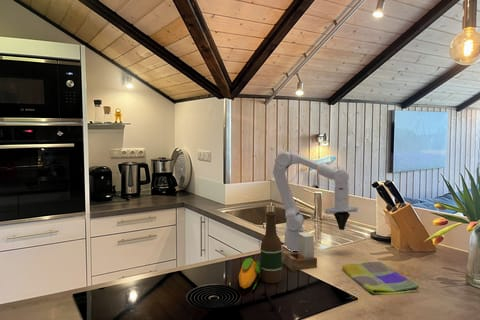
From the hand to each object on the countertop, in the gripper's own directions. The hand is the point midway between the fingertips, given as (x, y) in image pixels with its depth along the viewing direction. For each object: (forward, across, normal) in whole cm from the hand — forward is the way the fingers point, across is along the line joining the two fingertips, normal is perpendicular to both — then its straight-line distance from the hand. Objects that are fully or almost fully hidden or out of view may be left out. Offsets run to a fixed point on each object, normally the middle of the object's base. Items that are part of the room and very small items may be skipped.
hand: (341, 229), depth 156 cm
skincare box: (+11, -20, -7) cm, 24 cm away
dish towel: (+11, -4, -29) cm, 31 cm away
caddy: (+10, -22, -7) cm, 26 cm away
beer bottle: (+11, -39, -17) cm, 44 cm away
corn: (+11, -48, -19) cm, 52 cm away
